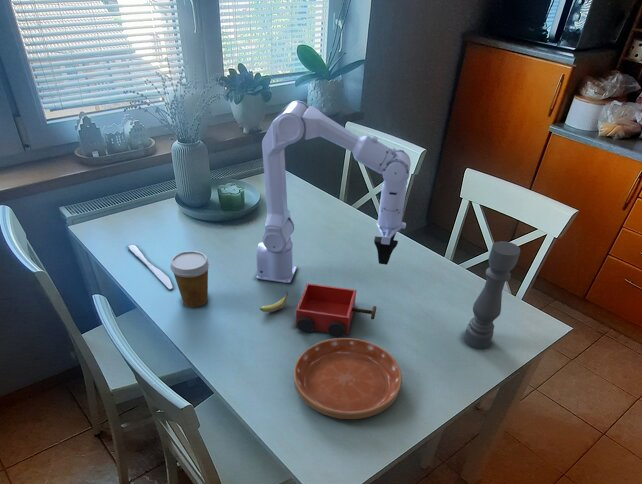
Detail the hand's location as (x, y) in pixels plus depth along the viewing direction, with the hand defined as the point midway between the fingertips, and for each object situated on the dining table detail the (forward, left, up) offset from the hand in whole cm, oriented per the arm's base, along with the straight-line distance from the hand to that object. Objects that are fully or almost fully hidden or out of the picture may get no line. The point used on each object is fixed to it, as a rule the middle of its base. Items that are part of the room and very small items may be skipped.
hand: (384, 255), depth 132 cm
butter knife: (-64, -5, -10) cm, 65 cm away
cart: (-12, -16, -10) cm, 22 cm away
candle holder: (+25, -16, -10) cm, 31 cm away
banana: (-25, -16, -10) cm, 31 cm away
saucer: (-3, -38, -10) cm, 39 cm away
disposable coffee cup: (-46, -17, -10) cm, 50 cm away
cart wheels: (-9, -16, -10) cm, 21 cm away
